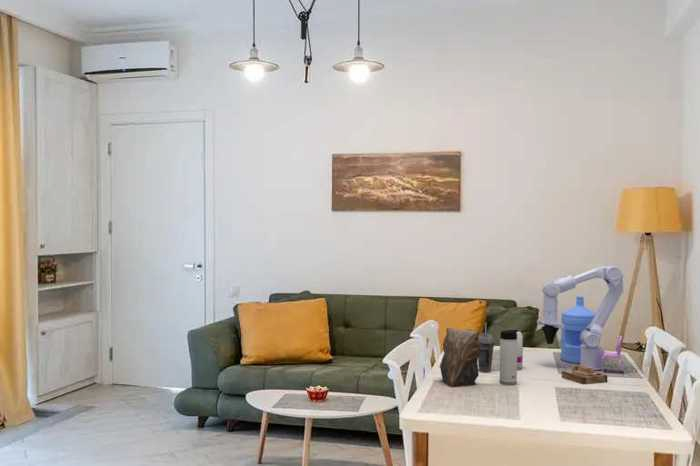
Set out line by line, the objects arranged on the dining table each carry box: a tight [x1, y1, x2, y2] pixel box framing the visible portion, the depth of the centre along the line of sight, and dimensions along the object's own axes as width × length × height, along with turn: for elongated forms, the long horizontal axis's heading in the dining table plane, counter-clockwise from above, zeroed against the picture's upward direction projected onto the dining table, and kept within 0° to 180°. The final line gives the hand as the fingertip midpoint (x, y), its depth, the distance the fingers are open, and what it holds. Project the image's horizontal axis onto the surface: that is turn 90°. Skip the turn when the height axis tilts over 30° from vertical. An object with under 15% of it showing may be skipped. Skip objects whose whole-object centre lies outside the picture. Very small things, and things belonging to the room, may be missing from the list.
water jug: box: [560, 296, 597, 365], centre depth 302 cm, size 16×16×28 cm
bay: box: [561, 370, 608, 385], centre depth 264 cm, size 11×12×2 cm
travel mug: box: [499, 329, 519, 386], centre depth 256 cm, size 6×7×20 cm
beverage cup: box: [477, 321, 496, 373], centre depth 277 cm, size 7×7×20 cm
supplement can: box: [517, 331, 524, 371], centre depth 284 cm, size 8×8×15 cm
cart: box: [571, 364, 597, 377], centre depth 264 cm, size 5×8×5 cm, turn 23°
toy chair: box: [601, 335, 626, 375], centre depth 278 cm, size 8×9×15 cm
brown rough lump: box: [439, 327, 480, 388], centre depth 256 cm, size 13×13×20 cm
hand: (549, 343), depth 286 cm, fingers closed
